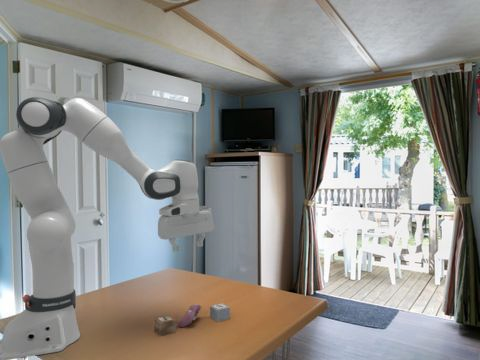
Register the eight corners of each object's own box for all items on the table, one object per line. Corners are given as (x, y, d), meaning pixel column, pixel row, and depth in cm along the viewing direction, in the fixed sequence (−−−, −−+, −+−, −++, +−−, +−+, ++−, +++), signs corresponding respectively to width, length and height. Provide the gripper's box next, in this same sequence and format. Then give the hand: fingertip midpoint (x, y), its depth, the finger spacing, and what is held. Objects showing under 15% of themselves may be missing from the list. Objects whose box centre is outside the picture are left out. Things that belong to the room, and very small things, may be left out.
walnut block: (160, 336, 114) (160, 322, 113) (154, 330, 118) (154, 317, 118) (175, 332, 116) (175, 319, 116) (169, 327, 120) (169, 314, 120)
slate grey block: (217, 322, 124) (217, 309, 124) (210, 317, 129) (210, 305, 129) (229, 319, 127) (229, 306, 127) (222, 314, 131) (222, 302, 131)
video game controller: (187, 333, 119) (196, 314, 118) (175, 326, 120) (184, 307, 119) (196, 321, 129) (205, 304, 128) (185, 314, 130) (193, 297, 129)
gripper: (206, 204, 133) (207, 242, 134) (154, 210, 120) (156, 252, 121) (216, 205, 129) (218, 244, 129) (163, 211, 115) (166, 255, 116)
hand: (188, 248), depth 125 cm, fingers open, 8 cm apart
